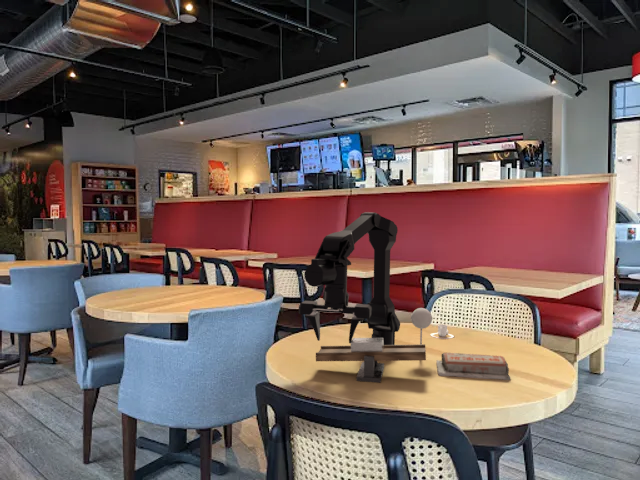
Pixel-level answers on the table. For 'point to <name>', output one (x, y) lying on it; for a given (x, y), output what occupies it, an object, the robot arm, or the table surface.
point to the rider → (367, 345)
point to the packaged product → (473, 366)
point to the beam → (373, 353)
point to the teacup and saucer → (442, 332)
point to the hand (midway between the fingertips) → (334, 341)
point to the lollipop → (421, 319)
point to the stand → (370, 370)
